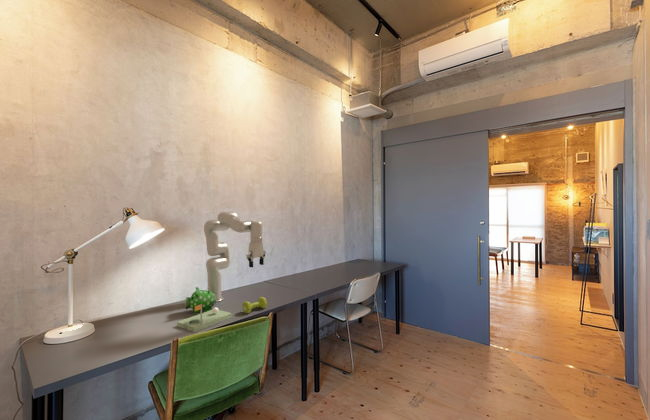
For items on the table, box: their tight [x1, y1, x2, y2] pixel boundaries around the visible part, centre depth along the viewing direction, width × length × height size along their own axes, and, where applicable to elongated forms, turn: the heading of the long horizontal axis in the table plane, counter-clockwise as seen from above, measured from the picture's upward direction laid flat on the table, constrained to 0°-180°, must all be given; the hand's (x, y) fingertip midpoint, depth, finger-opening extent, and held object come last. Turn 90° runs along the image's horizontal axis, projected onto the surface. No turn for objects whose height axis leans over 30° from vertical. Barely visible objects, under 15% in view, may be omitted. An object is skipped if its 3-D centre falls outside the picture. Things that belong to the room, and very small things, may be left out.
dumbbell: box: [241, 296, 268, 314], centre depth 198 cm, size 16×8×7 cm, turn 139°
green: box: [176, 304, 233, 333], centre depth 178 cm, size 16×26×14 cm, turn 149°
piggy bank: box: [185, 286, 216, 315], centre depth 196 cm, size 14×18×15 cm
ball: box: [211, 306, 220, 314], centre depth 184 cm, size 4×4×4 cm
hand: (256, 265), depth 195 cm, fingers open, 9 cm apart
